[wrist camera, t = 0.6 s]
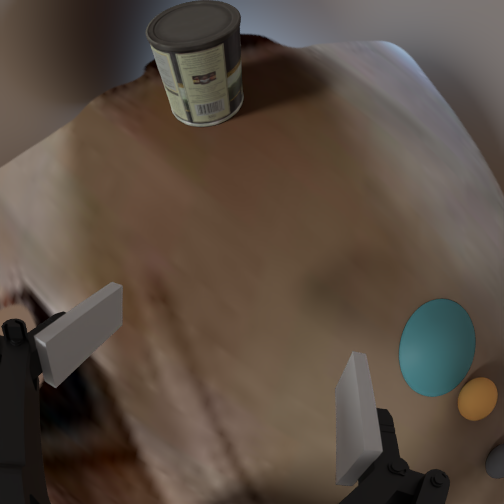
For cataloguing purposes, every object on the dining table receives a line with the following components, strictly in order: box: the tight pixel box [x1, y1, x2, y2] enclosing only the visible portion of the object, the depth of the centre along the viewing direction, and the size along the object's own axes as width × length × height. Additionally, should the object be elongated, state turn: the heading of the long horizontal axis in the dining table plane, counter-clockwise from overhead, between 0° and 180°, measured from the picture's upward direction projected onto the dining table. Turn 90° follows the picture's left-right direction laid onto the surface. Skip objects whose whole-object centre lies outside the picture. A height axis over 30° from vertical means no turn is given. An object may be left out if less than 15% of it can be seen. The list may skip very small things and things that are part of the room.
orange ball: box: [458, 377, 498, 421], centre depth 27 cm, size 6×6×6 cm
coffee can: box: [146, 0, 244, 127], centre depth 32 cm, size 10×10×14 cm
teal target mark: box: [399, 299, 475, 397], centre depth 31 cm, size 12×12×1 cm
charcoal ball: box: [486, 444, 504, 479], centre depth 24 cm, size 6×6×6 cm
